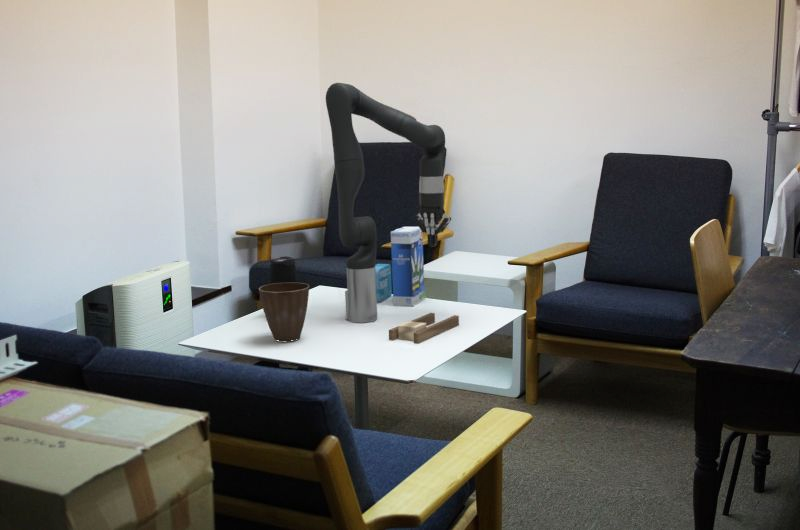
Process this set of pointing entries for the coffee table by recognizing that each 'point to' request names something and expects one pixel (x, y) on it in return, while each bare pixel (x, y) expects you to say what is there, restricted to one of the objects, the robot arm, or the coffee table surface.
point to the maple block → (409, 329)
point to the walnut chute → (430, 330)
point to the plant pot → (285, 308)
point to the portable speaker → (282, 270)
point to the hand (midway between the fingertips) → (432, 246)
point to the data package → (383, 282)
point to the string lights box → (407, 266)
